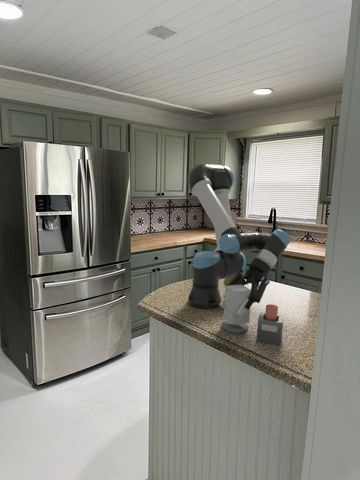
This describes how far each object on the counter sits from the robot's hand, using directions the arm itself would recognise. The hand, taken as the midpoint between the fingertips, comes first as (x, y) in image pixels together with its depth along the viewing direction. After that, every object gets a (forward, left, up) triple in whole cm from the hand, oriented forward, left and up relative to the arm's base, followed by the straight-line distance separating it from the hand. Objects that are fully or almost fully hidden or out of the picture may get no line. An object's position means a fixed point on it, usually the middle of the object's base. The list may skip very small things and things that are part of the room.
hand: (230, 310), depth 118 cm
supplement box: (+2, +3, -5) cm, 6 cm away
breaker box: (+15, -1, -7) cm, 17 cm away
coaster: (+2, +3, -7) cm, 8 cm away
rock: (-11, +57, -8) cm, 58 cm away
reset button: (+15, -1, -2) cm, 15 cm away
